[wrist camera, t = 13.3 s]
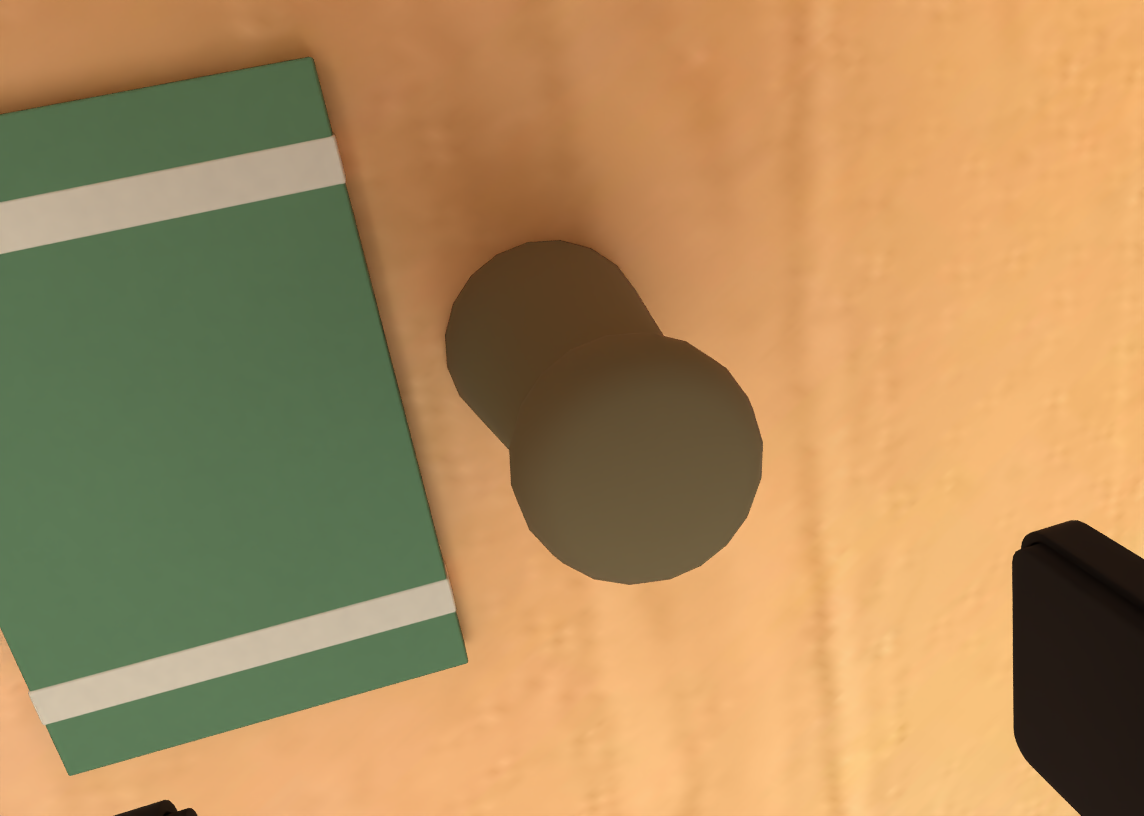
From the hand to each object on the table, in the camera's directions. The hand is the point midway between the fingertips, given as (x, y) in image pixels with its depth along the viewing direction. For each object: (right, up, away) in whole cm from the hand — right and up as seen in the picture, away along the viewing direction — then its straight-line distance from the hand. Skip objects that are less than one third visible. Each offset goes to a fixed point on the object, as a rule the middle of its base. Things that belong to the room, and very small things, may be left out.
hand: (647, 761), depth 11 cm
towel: (-12, +3, +16) cm, 20 cm away
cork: (-2, +6, +18) cm, 19 cm away
